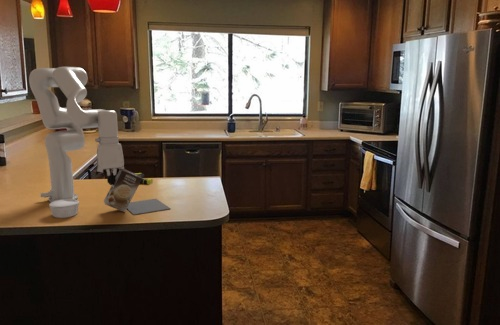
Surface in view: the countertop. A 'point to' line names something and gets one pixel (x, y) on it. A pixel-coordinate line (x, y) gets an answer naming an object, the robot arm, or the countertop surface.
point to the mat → (146, 206)
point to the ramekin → (64, 208)
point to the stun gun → (144, 181)
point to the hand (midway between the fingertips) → (111, 184)
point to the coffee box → (122, 190)
